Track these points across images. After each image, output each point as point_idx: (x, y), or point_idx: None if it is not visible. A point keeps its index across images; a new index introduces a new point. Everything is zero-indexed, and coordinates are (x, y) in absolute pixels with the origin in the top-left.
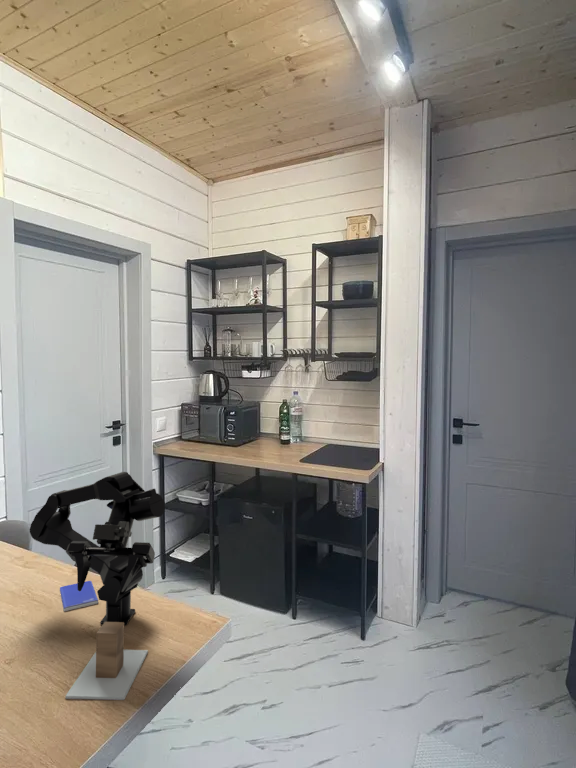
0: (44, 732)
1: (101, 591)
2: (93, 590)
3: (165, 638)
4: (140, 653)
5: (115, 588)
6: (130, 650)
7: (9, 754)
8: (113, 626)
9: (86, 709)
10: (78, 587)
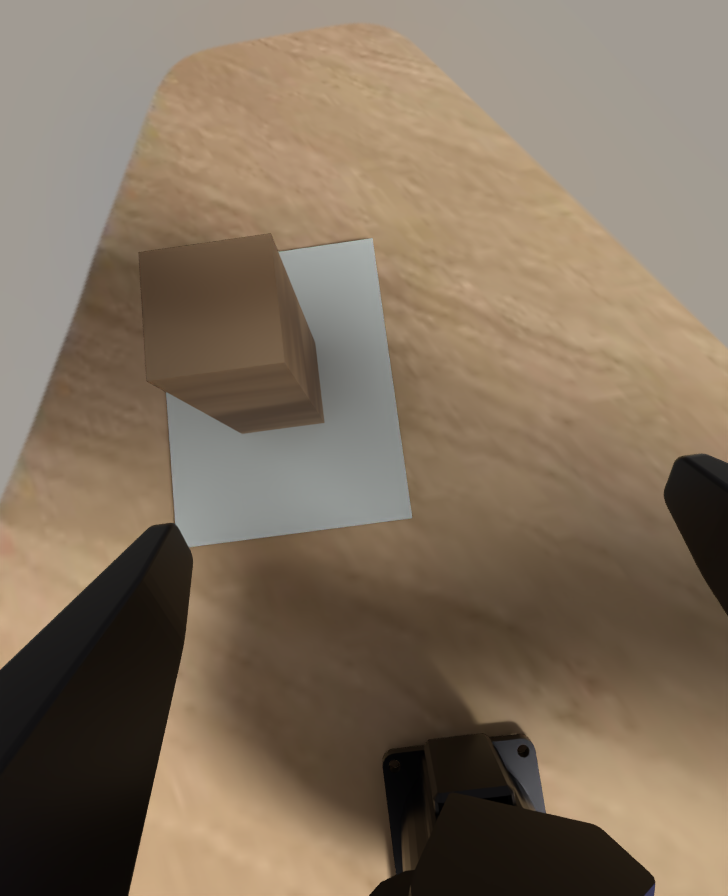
0: (347, 113)
1: (610, 873)
2: None
3: None
4: (201, 520)
5: (465, 879)
6: (255, 532)
7: (395, 34)
8: (197, 322)
9: (270, 215)
10: (708, 458)
